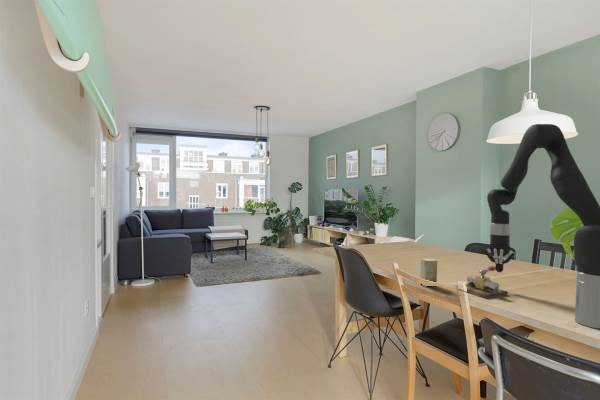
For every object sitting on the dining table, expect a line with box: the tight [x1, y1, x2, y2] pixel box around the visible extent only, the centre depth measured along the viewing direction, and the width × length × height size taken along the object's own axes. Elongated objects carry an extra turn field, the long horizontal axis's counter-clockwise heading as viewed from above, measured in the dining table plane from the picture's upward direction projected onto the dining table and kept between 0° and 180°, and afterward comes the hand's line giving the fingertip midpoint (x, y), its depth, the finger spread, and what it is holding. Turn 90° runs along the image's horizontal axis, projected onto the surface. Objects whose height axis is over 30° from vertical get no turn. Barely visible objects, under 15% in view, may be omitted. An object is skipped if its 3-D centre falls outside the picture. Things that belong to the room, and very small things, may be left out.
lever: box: [478, 265, 496, 275], centre depth 149 cm, size 14×3×2 cm, turn 131°
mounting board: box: [465, 284, 509, 299], centre depth 146 cm, size 14×14×2 cm
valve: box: [466, 274, 500, 294], centre depth 145 cm, size 13×4×7 cm, turn 24°
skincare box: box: [419, 258, 438, 288], centre depth 155 cm, size 6×4×12 cm
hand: (499, 271), depth 150 cm, fingers closed
